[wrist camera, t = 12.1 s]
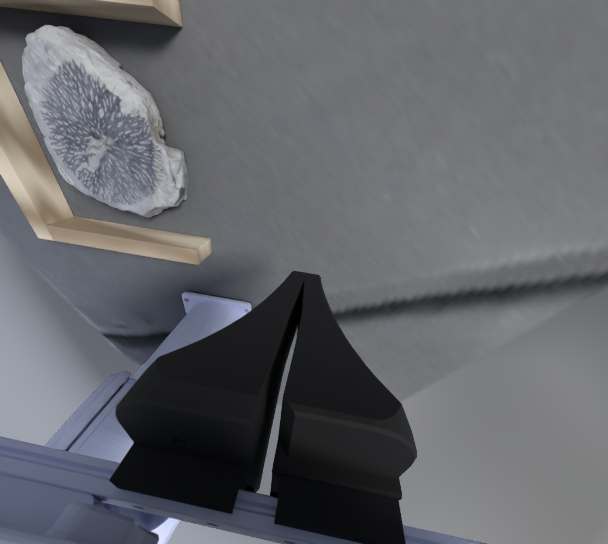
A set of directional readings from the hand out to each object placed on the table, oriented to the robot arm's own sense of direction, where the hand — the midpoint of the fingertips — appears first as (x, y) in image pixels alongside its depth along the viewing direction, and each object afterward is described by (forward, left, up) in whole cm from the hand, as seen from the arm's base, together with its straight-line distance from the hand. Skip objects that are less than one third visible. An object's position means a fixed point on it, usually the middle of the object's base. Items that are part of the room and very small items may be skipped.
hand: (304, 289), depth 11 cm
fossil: (+4, +16, -10) cm, 19 cm away
